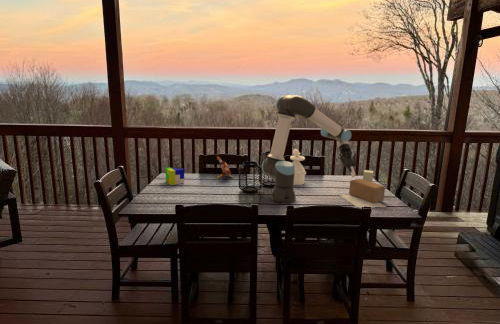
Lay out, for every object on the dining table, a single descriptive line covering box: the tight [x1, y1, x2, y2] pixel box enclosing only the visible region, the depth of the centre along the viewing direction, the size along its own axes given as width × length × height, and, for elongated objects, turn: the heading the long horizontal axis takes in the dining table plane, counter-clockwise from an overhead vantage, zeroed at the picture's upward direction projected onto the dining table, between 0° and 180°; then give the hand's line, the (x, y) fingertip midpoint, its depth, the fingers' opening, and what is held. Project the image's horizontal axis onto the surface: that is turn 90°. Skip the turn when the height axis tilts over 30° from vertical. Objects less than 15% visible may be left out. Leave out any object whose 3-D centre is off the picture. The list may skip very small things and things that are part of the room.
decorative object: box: [289, 148, 307, 186], centre depth 241 cm, size 16×14×25 cm
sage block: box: [362, 169, 374, 182], centre depth 227 cm, size 6×6×14 cm
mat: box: [339, 194, 387, 209], centre depth 206 cm, size 23×18×1 cm
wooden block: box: [348, 178, 386, 203], centre depth 211 cm, size 10×10×20 cm
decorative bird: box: [216, 155, 234, 179], centre depth 251 cm, size 28×18×15 cm, turn 6°
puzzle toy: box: [164, 166, 185, 186], centre depth 236 cm, size 10×10×10 cm
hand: (353, 175), depth 216 cm, fingers closed
